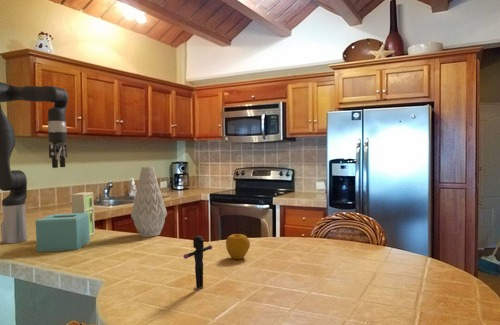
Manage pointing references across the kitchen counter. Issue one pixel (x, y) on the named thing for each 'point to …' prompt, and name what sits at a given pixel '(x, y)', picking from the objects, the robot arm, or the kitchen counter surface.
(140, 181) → the vase
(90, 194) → the toy refrigerator
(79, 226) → the coin box
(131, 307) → the kitchen counter surface
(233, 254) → the apple
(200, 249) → the figurine
